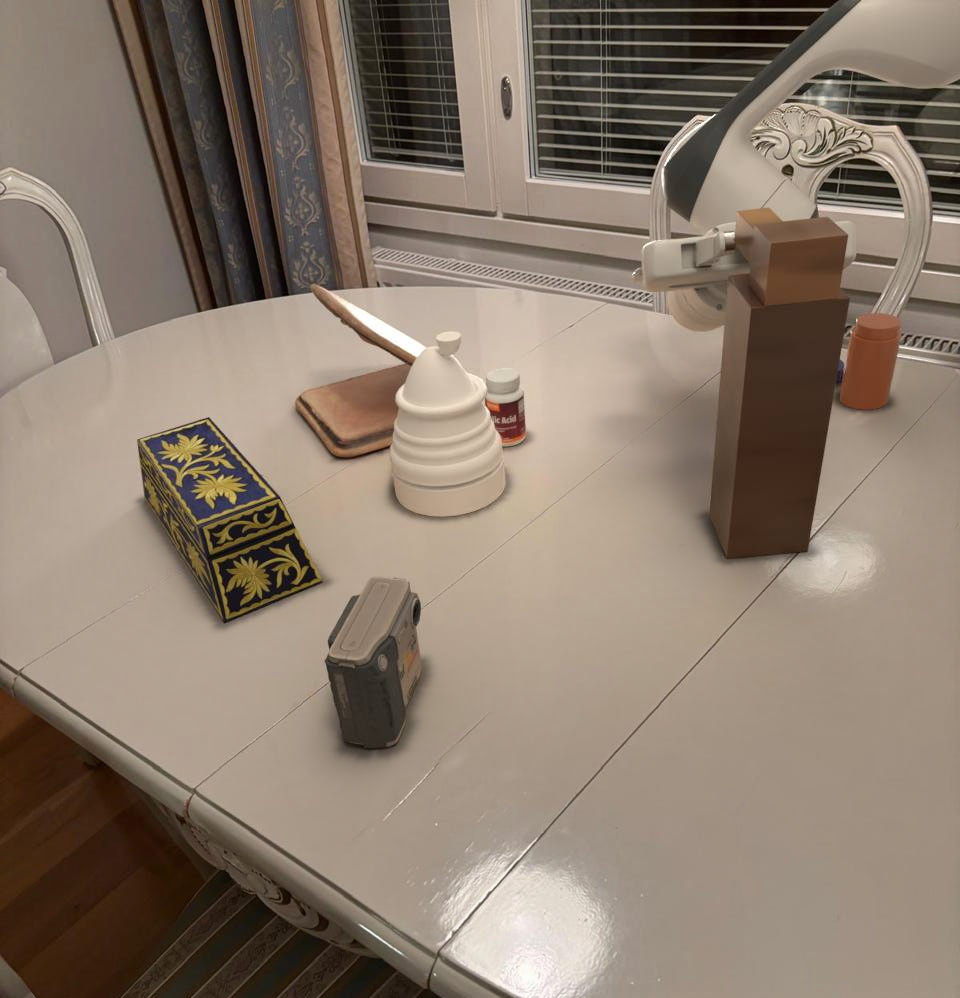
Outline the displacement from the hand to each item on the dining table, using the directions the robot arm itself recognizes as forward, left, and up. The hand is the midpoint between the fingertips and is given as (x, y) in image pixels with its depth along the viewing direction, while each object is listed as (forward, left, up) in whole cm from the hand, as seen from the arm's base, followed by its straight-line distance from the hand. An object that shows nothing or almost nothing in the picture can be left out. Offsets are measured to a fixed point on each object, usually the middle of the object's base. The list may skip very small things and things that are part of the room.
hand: (766, 236), depth 82 cm
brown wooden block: (-3, +2, -2) cm, 4 cm away
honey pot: (+25, +20, -27) cm, 42 cm away
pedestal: (-6, +4, -27) cm, 28 cm away
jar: (+4, -28, -27) cm, 39 cm away
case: (+47, +14, -27) cm, 56 cm away
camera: (0, +46, -27) cm, 54 cm away
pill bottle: (+29, +8, -27) cm, 41 cm away
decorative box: (+35, +44, -27) cm, 63 cm away
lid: (+12, -30, -26) cm, 41 cm away
